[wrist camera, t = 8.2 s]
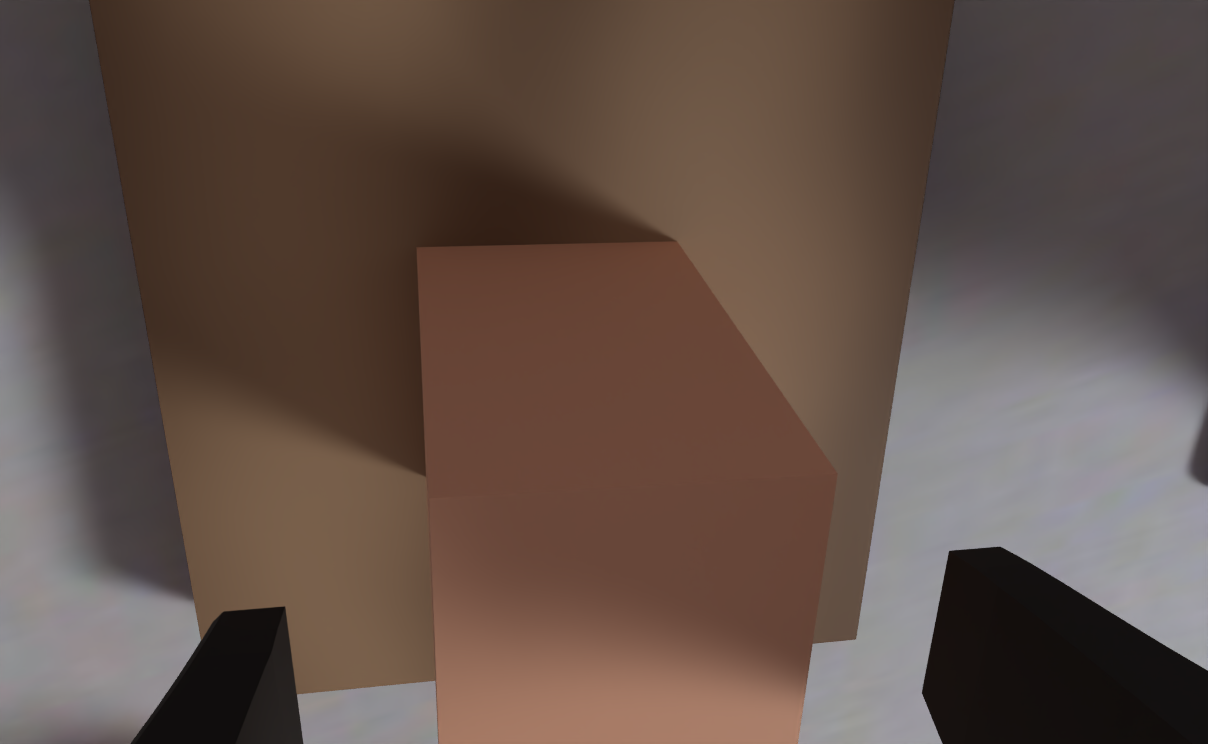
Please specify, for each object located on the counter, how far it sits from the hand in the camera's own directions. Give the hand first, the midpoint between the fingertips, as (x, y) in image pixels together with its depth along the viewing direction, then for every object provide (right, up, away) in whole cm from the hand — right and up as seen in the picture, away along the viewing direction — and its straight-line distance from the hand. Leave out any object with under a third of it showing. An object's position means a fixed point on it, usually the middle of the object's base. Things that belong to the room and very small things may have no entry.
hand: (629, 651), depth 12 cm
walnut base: (-2, +4, +8) cm, 9 cm away
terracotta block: (-1, +3, +6) cm, 7 cm away
